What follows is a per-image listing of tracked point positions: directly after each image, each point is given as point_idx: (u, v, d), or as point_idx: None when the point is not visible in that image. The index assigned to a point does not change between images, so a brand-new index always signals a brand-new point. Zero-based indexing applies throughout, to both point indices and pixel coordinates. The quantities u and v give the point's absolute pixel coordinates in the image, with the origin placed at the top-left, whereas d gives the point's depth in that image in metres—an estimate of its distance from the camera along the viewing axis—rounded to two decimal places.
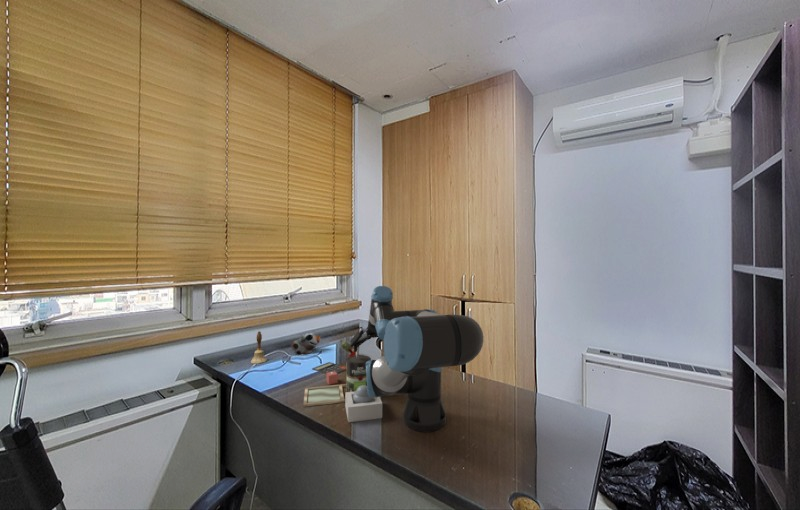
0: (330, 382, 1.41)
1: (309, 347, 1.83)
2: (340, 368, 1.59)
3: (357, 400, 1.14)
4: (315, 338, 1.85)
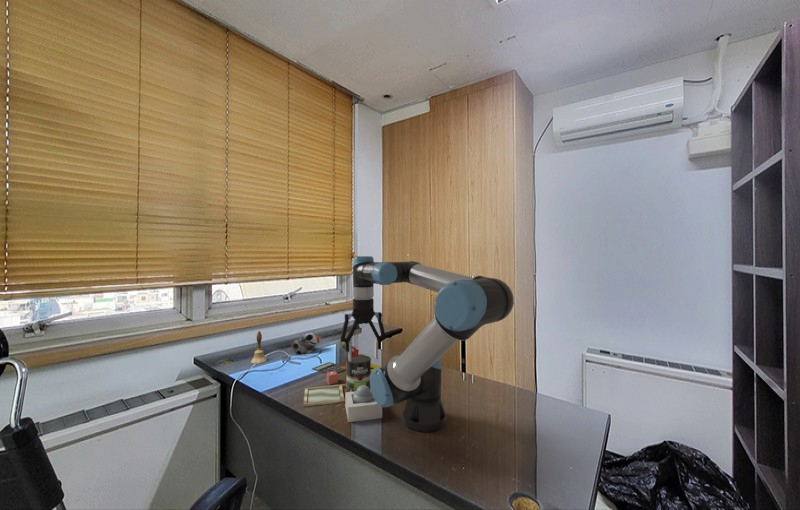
0: (330, 382, 1.41)
1: (309, 347, 1.83)
2: (340, 368, 1.59)
3: (357, 400, 1.14)
4: (315, 338, 1.86)
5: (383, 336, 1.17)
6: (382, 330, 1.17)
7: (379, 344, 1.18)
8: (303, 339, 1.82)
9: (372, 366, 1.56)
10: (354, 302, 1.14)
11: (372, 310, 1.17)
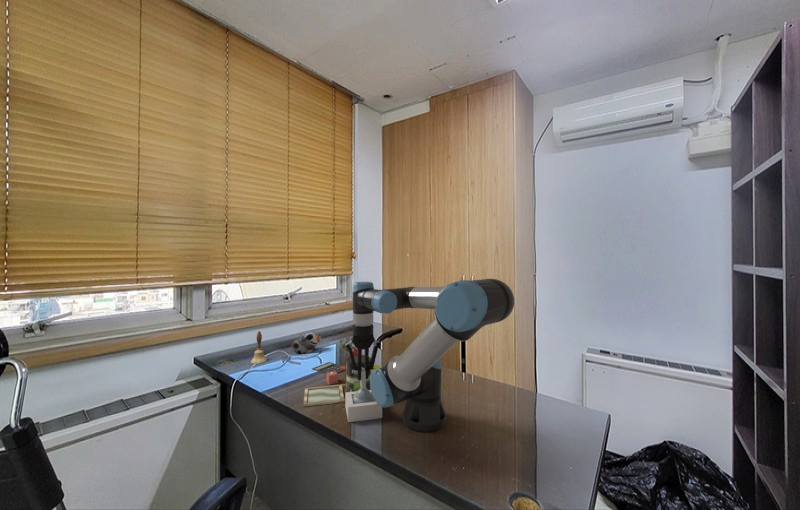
0: (330, 382, 1.41)
1: (309, 347, 1.84)
2: (340, 368, 1.59)
3: (357, 403, 1.14)
4: (315, 338, 1.86)
5: (371, 365, 1.16)
6: (373, 359, 1.17)
7: (367, 374, 1.17)
8: (303, 339, 1.82)
9: None
10: (354, 328, 1.14)
11: (372, 336, 1.17)
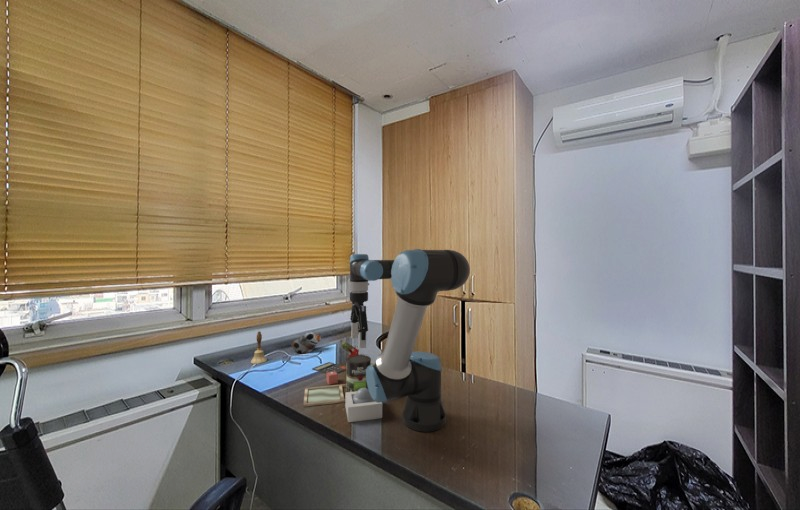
0: (330, 382, 1.41)
1: (310, 346, 1.85)
2: (340, 368, 1.59)
3: (357, 403, 1.14)
4: (316, 337, 1.87)
5: (361, 329, 1.22)
6: (360, 323, 1.23)
7: (361, 335, 1.23)
8: (304, 338, 1.83)
9: None
10: None
11: (358, 304, 1.27)
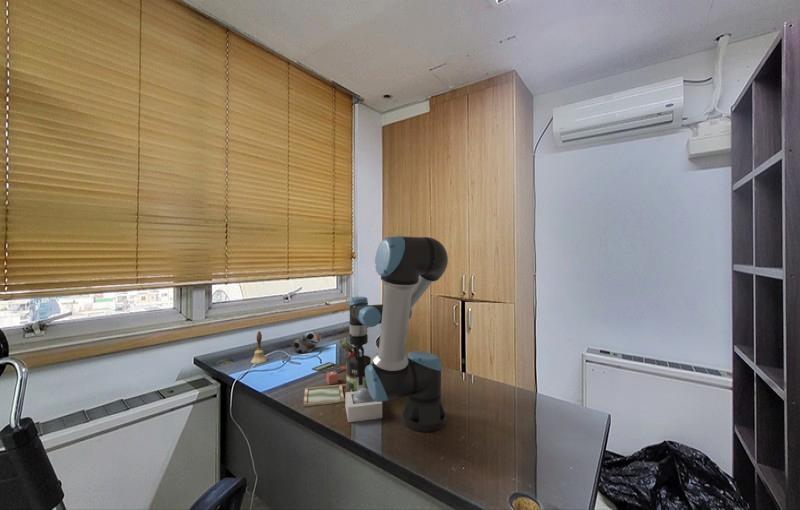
0: (330, 382, 1.41)
1: (310, 346, 1.85)
2: (340, 368, 1.59)
3: (357, 403, 1.14)
4: (316, 337, 1.88)
5: (357, 374, 1.26)
6: (357, 368, 1.26)
7: (358, 380, 1.27)
8: (304, 338, 1.84)
9: None
10: None
11: (357, 347, 1.30)
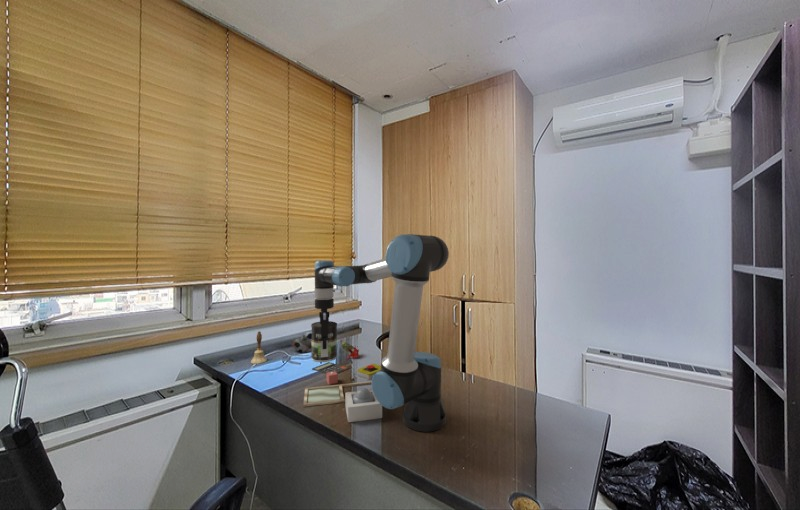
0: (330, 382, 1.41)
1: (310, 345, 1.86)
2: (340, 368, 1.59)
3: (357, 403, 1.14)
4: None
5: (321, 337, 1.22)
6: (321, 331, 1.22)
7: (322, 344, 1.24)
8: (304, 338, 1.84)
9: (376, 367, 1.55)
10: None
11: (321, 310, 1.26)
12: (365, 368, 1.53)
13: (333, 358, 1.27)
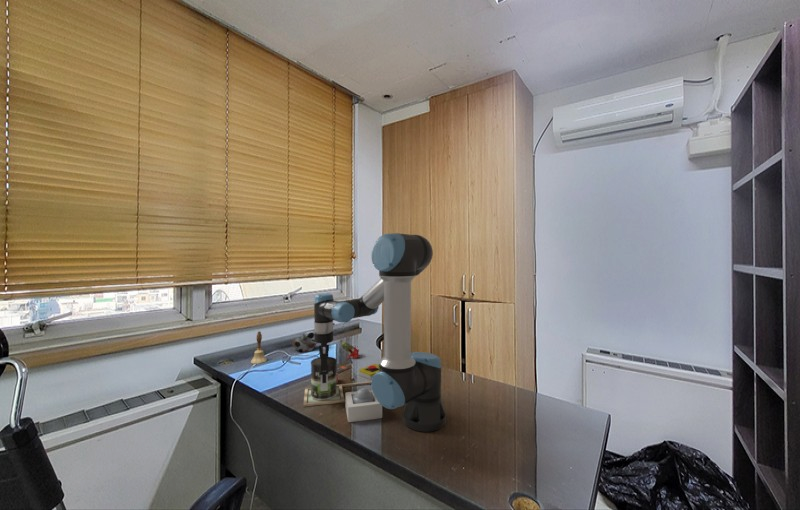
0: None
1: (311, 345, 1.88)
2: (340, 368, 1.59)
3: (357, 403, 1.14)
4: None
5: None
6: (321, 365, 1.22)
7: (322, 378, 1.22)
8: (305, 337, 1.86)
9: (378, 367, 1.55)
10: None
11: (321, 345, 1.26)
12: (367, 368, 1.53)
13: (333, 396, 1.28)
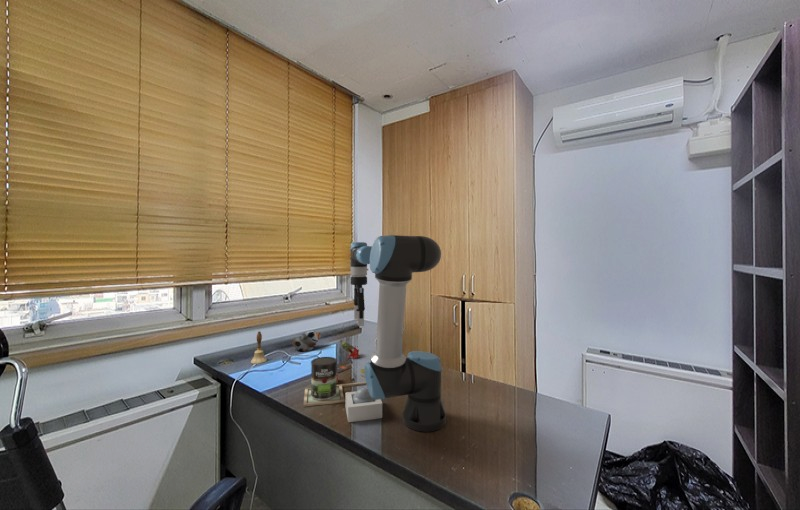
0: None
1: (311, 344, 1.89)
2: (340, 368, 1.59)
3: (357, 403, 1.14)
4: (316, 335, 1.92)
5: (358, 308, 1.36)
6: (358, 302, 1.37)
7: (359, 314, 1.37)
8: (305, 337, 1.87)
9: None
10: None
11: (357, 286, 1.42)
12: None
13: (333, 396, 1.28)
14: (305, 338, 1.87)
